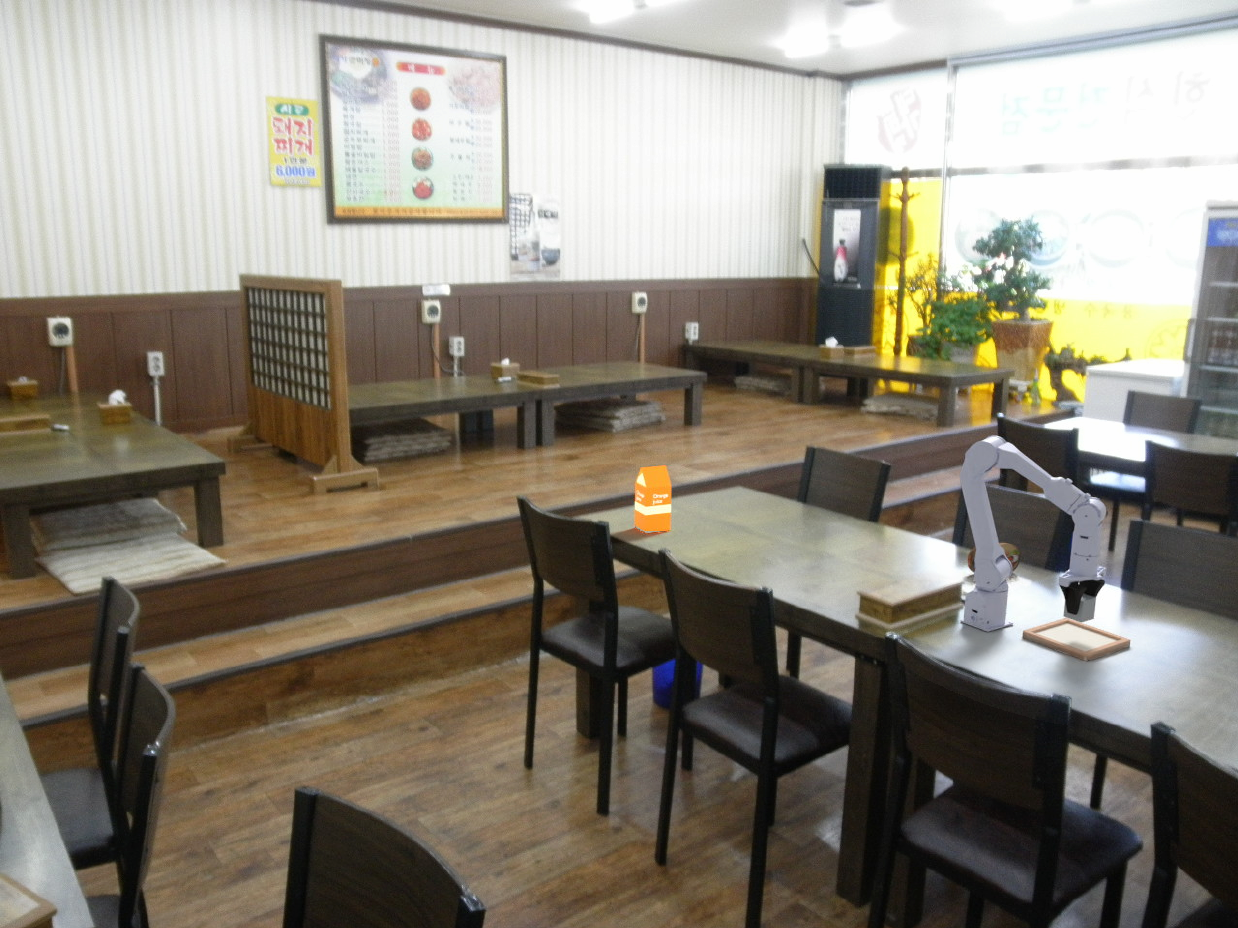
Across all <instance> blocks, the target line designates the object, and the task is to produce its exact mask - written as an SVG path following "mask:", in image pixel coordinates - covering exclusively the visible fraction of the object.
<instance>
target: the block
mask: <svg viewBox="0 0 1238 928" xmlns="http://www.w3.org/2000/svg"><path fill="white" fill-rule="evenodd" d="M1096 602H1097V596H1096V597H1093V596H1090V595H1086V594H1083V596H1082V598H1081V601H1080V606H1079V610H1078V613H1077V615H1073V614H1070V613H1067V608H1066V602H1065V601H1064V606H1063V618H1069V619H1071V620H1074V621H1077V622H1080V623H1084V622H1085V623H1086V622H1088V621H1092V620H1094V619H1095V612H1096V611H1095V610H1096Z"/></svg>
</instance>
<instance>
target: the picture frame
mask: <svg viewBox="0 0 1238 928" xmlns="http://www.w3.org/2000/svg"><path fill="white" fill-rule="evenodd" d="M1022 638H1023V639H1026V640H1028V641H1030V642H1034V643H1037V644H1039V645H1042V646H1045V647H1046V648H1049V649H1052V650H1055V649H1056V650H1055V651H1057V650H1058V652H1060V651H1061V652H1060V653H1063V654H1065V653H1066V654H1065V655H1068V656H1071V657H1073V656H1074V658H1076V659H1079V660H1082V661H1084V662H1088V660H1089V661H1091V660H1094V659H1098V658H1100V657H1103V656H1106V655H1109V654H1112V653H1115V652H1117V651H1120V650H1123V649H1128V648H1130V647H1131V639H1129V638H1127V637H1123V636H1121V635H1118V634H1115V633H1112V632H1109V631H1106V630H1103V629H1101V628H1098V627H1095V626H1091V625H1088V624H1085V623H1084V622H1082V623H1081V622H1078V621H1075V620H1072V619H1069V618H1067V617H1063V618H1061V619H1058V620H1055V621H1051V622H1047V623H1044V624H1041V625H1037V626H1035V627H1031V628H1028V629H1027V628H1026V629H1025V630H1022Z"/></svg>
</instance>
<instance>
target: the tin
mask: <svg viewBox="0 0 1238 928" xmlns="http://www.w3.org/2000/svg"><path fill="white" fill-rule="evenodd" d="M999 544H1000V546H1001V547H1002V548H1003V549H1004V552H1005V555H1006V557H1007V559H1008V560H1009V561H1010V562H1011V564H1012V573H1013V572H1014V571H1015V570H1016V569H1017V568H1018V567H1019V565H1020V561H1021V553H1020V550H1019V549H1018V547H1017V546H1016V545H1015V544H1013V543H1008V542H1007V543H1006V542H999ZM975 554H976V546H974V547H973V548H972V549H971V550H970V551H969V554H968V557H967V565H968V568H969V570H970V571H971V572H972V573H974V572H975V562H974V560H975Z"/></svg>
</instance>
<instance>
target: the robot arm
mask: <svg viewBox="0 0 1238 928" xmlns="http://www.w3.org/2000/svg"><path fill="white" fill-rule="evenodd" d="M964 454H965V457H964V461H963V464H962V467H961V470H960V473H959V481H960V486H961V490H962V493H963V498H964V503H965V507H966V510H967V516H968V520H969V524H970V528H971V533H972V536H973V541H974V545H975V546H974V547H976V554H975V560H974V562H975V572H973V579H974V582H975V586H974V588H973V589H972V590H971V591H969V592H968V593H967V594H966V595H965V599H964V610H963V618H961V619H960V620H959V621H960V623H964V624H966V625H969V626H971V627H974V628H976V629H979V630H982V631H984V632H992V631H995V630H999V629H1003V628H1005V627H1009V626H1012V625H1014V622H1013V621H1010V620H1009V619H1006V617H1007V609H1008V608H1007V607H1008V596H1009V584H1008V582H1007V579H1009V578H1010V577H1011V575H1012V574H1013V572H1012V564H1011V562H1010V561H1009V560H1008V559H1007V557H1006V555H1005V552H1004V549H1003V548H1002V547H1001V546H1000V544H999V543H1000V542H999V537H998V534H997V529H996V525H995V520H994V516H993V511H992V507H991V504H990V503H991V502H990V499H989V494H988V491H987V486H986V482H985V479H986V477H987V476H988V475H989V473H990V472H991V471H992V470H993V468H994V467H996V469H1008V470H1009V469H1011V470H1014V471H1015V472H1016V473H1018V474H1020V475H1021V476H1022V477H1024V478H1026V479H1027V480H1029V481H1030V482H1032V483H1034V484H1035V485H1037V486H1038V487H1039V488H1041V489H1042V490H1043V496H1044V498H1046V499H1047V500H1048V501H1049V502H1051V503H1052V504H1054V505H1055V506H1056V507H1058V508H1059V509H1060V510H1061V511H1063V512H1064V513H1066V514H1067V515H1069V516H1071V519H1072V521H1073V523H1074V530H1073V532H1072V539H1071V540H1072V541H1071V549H1070V550H1071V551H1070V560H1069V569H1068V570H1066V571H1065V572H1064V573H1063V574H1062V575H1059V576H1058V584H1057V585H1058V586H1059V587H1060V589H1061V592H1062V594H1063V598H1064V603H1065V602H1066V608H1067V613H1070V614H1073V615H1077V613H1078V610H1079V606H1080V601H1081V598H1082V596H1083V594H1086V595H1090V596H1093V597H1096V598H1097V597H1098V594H1099V593H1100V591H1101V590H1102V588H1103V587H1104V586H1105V585H1106V584H1105V583H1106V580H1105V579H1102V578H1104V577H1106V576H1107V570H1108V569H1107V567H1104V566H1101V565H1099V561H1100V553H1101V544H1102V531H1103V522H1102V521H1103V520H1104V519H1105V517H1106V515H1107V508H1106V507H1107V506H1106V505H1105V504H1104V502H1103V501H1102V500H1101V499H1100V498H1098V497H1096V496H1095V497H1093V496H1091V493H1089V492H1086V493H1085V492H1083V491H1082V490H1081V489H1080V488H1078V487H1076V486H1075V485H1074V484H1072V483H1073V480H1072V479H1070V478H1068V477H1067V478H1064V477H1062V476H1058V477H1057V476H1056V477H1054V476H1052V475H1051V474H1049V472H1047V471H1046V470H1044V469H1043V468H1042V467H1041V466H1039V465H1038V464H1037V463H1036V462H1034V461H1033V460H1032V459H1030V458H1029V457H1028V456H1026V454H1024V453H1023V452H1022V451H1020V450H1019V449H1018V448H1017V447H1016V446H1015V445H1014V444H1013V443H1011V442H1008V441H1006V440H1005V438H1004V437H1001V436H998V435H989V436H987V437H986V438H985V439H983V440H979V441H976V442H974V443H973V444H972V445H971V446H970V448H968V449H967V451H966V452H965V453H964Z"/></svg>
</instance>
